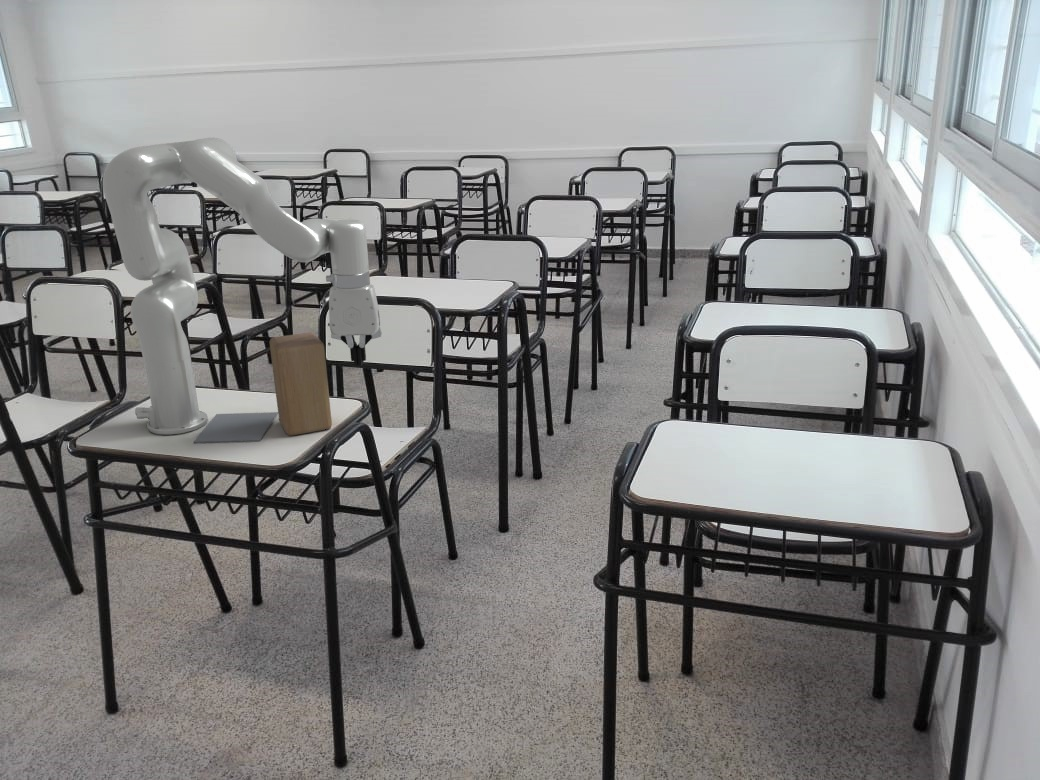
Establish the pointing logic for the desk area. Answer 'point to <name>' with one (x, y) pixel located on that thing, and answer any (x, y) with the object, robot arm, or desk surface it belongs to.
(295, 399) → the wooden block
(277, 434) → the desk surface
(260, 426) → the mat
